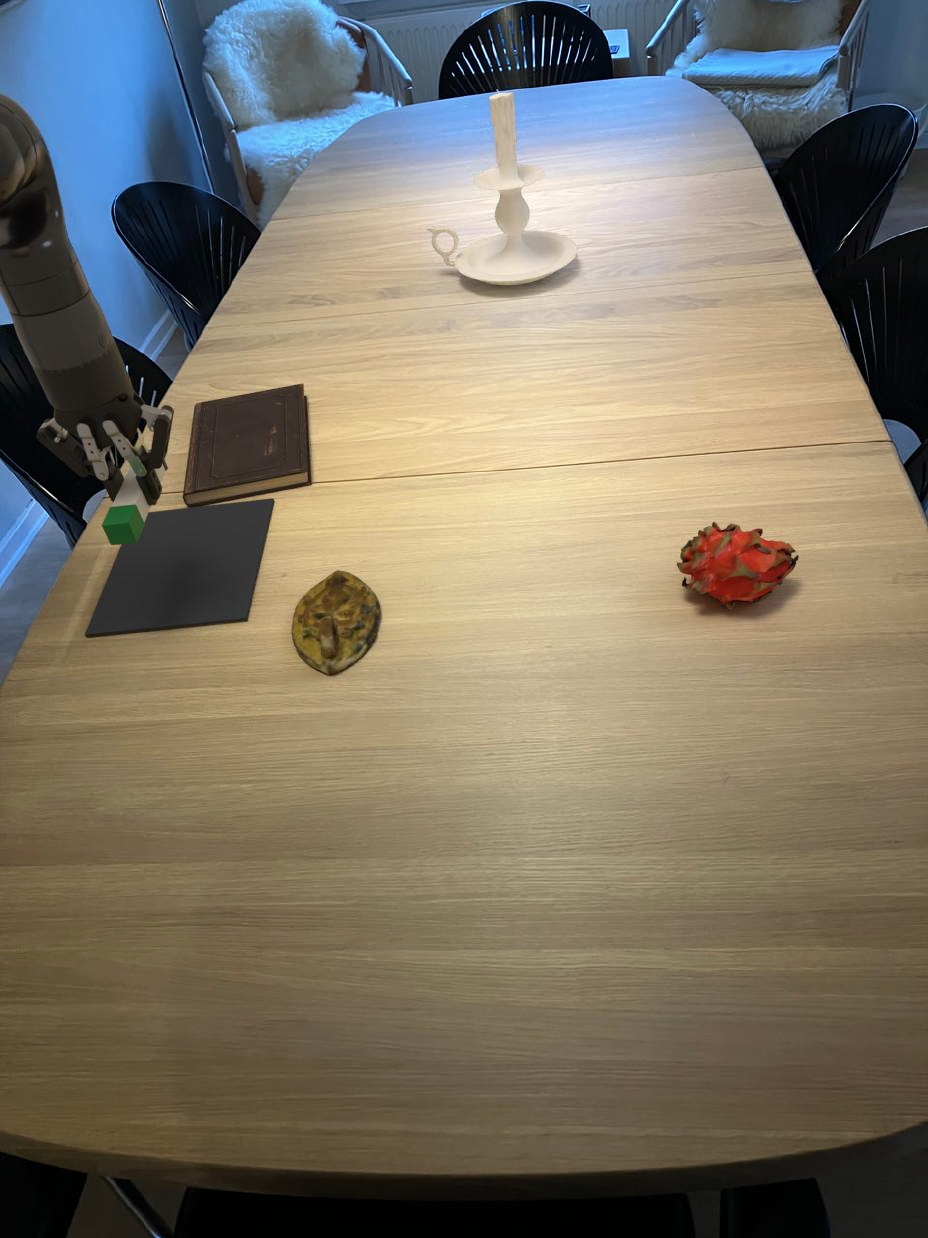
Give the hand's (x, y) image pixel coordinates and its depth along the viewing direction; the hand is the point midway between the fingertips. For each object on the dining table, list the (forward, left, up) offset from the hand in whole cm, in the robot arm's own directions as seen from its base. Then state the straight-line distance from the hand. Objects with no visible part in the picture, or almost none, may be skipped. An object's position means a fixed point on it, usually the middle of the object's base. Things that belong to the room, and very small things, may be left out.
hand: (139, 501), depth 95 cm
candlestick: (+40, +77, -13) cm, 88 cm away
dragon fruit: (+59, -8, -13) cm, 61 cm away
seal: (+18, -7, -13) cm, 24 cm away
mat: (-1, +6, -13) cm, 14 cm away
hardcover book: (+3, +30, -13) cm, 33 cm away
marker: (0, 0, 0) cm, 0 cm away
